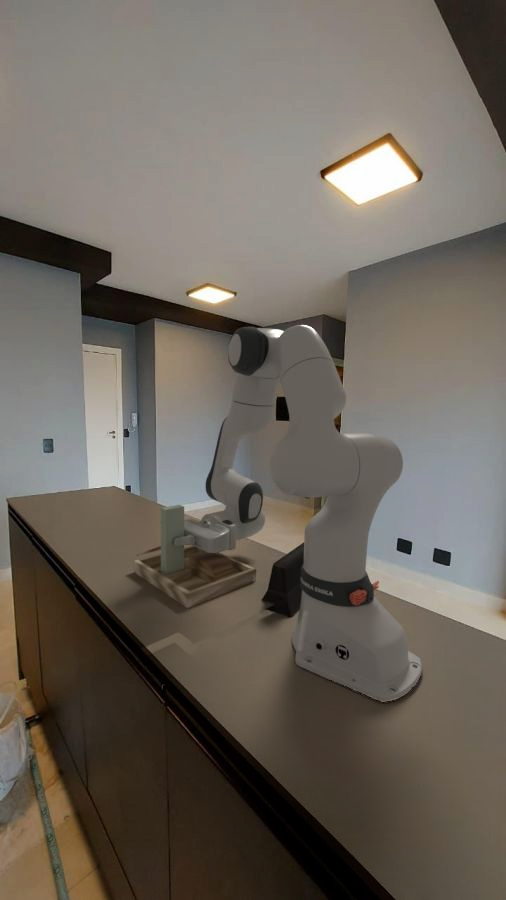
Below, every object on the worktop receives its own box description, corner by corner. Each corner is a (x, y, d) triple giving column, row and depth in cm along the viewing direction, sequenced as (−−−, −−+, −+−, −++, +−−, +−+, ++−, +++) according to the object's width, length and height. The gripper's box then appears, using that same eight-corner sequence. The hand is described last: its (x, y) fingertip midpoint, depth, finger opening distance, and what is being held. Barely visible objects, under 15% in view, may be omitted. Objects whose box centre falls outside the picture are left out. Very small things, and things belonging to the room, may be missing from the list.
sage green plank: (183, 578, 92) (184, 506, 91) (166, 584, 89) (166, 509, 87) (178, 575, 94) (178, 504, 92) (160, 580, 90) (160, 507, 89)
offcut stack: (238, 578, 93) (238, 561, 92) (215, 586, 88) (215, 569, 88) (204, 561, 103) (204, 546, 102) (182, 568, 98) (182, 552, 98)
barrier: (292, 619, 78) (293, 572, 77) (256, 607, 82) (257, 563, 81) (330, 578, 98) (331, 541, 97) (299, 571, 102) (300, 535, 101)
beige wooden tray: (255, 586, 92) (256, 568, 91) (187, 614, 78) (187, 594, 77) (198, 558, 109) (198, 543, 109) (134, 577, 95) (134, 560, 95)
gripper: (192, 510, 107) (148, 518, 97) (240, 526, 92) (193, 537, 82) (192, 531, 107) (148, 542, 97) (239, 551, 92) (193, 565, 83)
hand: (169, 540), depth 90 cm, fingers closed on sage green plank, 2 cm apart
